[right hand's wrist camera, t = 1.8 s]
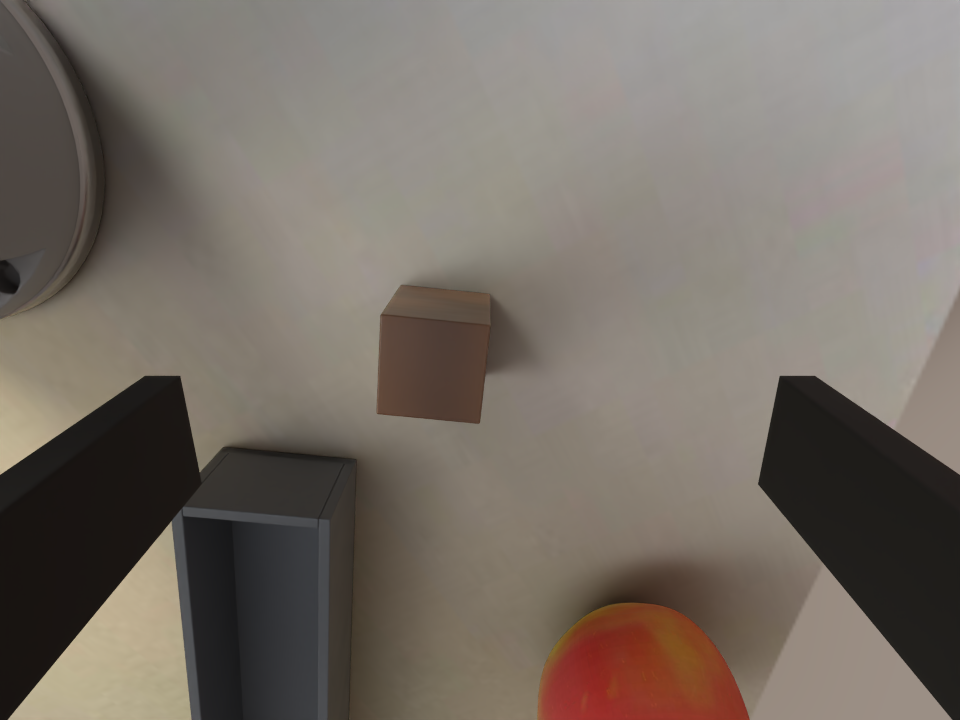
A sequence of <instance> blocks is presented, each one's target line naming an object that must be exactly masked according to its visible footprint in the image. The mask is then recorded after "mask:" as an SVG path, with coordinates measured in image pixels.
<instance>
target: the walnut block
mask: <svg viewBox="0 0 960 720" xmlns="http://www.w3.org/2000/svg"><path fill="white" fill-rule="evenodd" d="M490 328H491V318H490V294H486V293H476V292H466V291H456V290H446V289H436V288H426V287H416V286H407V285H401V286H400V287H399V288H398V290H397V291H396V293H395V294H394V296H393V297H392V299H391V300H390V302H389V303H388V305H387V306H386V308H385V309H384V311H383V312H382V314H381V317H380V341H379V365H378V389H377V414H383V415H393V416H404V417H414V418H425V419H435V420H446V421H456V422H466V423H477V424H479V423H480V418H481V409H482V400H483V391H484V382H485V373H486V364H487V355H488V346H489V337H490Z"/></svg>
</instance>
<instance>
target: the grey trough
mask: <svg viewBox="0 0 960 720" xmlns="http://www.w3.org/2000/svg"><path fill="white" fill-rule="evenodd" d="M200 477H201V482H202V485H201V486H200V487H199V488H198V489H197V491H196V492H195V493H194V494H193V496H192V497H191V498H190V499H189V500H188V502H187V503H186V504H185V505H184V506H183V508H182V509H181V510H180V511H179V513H178V514H177V515H176V516H175V517H174V519H173V520H172V529H173V539H174V549H175V559H176V569H177V579H178V589H179V599H180V609H181V619H182V629H183V639H184V648H185V658H186V668H187V678H188V688H189V698H190V708H191V718H192V720H349V695H350V661H351V627H352V594H353V560H354V526H355V492H356V460H355V459H345V458H334V457H323V456H313V455H302V454H291V453H281V452H270V451H260V450H249V449H238V448H228V447H223V448H222V449H221V450H220V451H219V452H218V453H217V454H216V456H215V457H214V458H213V459H212V460H211V461H210V462H209V463H208V464H207V465H206V467H205V468H204V469H203V470H202V471H201V472H200Z"/></svg>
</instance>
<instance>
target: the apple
mask: <svg viewBox="0 0 960 720" xmlns="http://www.w3.org/2000/svg"><path fill="white" fill-rule="evenodd" d="M537 720H750V719H749V716H748V713H747V709H746V707H745V704H744V701H743V699H742V696H741V693H740V691H739V688H738V686H737V684H736V682H735V679H734V677H733V675H732V673H731V671H730V669H729V667H728V666H727V664H726V662H725V660H724V658H723V657H722V655H721V654H720V652H719V651H718V649H717V648H716V646H715V645H714V644H713V643H712V641H711V640H710V639H709V638H708V637H707V635H706V634H705V633H704V632H703V631H702V630H701V629H700V628H699V627H698V626H697V625H696V624H695V623H694V622H693V621H691V620H690V619H688V618H687V617H686V616H684V615H683V614H681V613H679V612H677V611H675V610H673V609H670V608H668V607H664V606H660V605H655V604H646V603H618V604H611V605H608V606H605V607H602V608H599V609H597V610H595V611H593V612H591V613H589V614H587V615H586V616H584V617H583V618H582V619H580V620H579V621H578V622H577V623H576V624H574V625H573V626H572V627H571V628H570V629H569V630H568V631H567V632H566V633H565V634H564V635H563V636H562V637H561V638H560V640H559V641H558V642H557V643H556V645H555V646H554V648H553V649H552V651H551V653H550V654H549V656H548V659H547V661H546V663H545V666H544V669H543V673H542V676H541V681H540V688H539V696H538V712H537Z"/></svg>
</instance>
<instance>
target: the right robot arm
mask: <svg viewBox="0 0 960 720" xmlns="http://www.w3.org/2000/svg"><path fill="white" fill-rule="evenodd" d="M104 182H105V177H104V163H103V155H102V149H101V143H100V138H99V134H98V130H97V126H96V123H95V119H94V116H93V113H92V110H91V107H90V105H89V102H88V99H87V97H86V94H85V92H84V90H83V88H82V85H81V83H80V81H79V79H78V77H77V75H76V73H75V71H74V69H73V68H72V66H71V64H70V62H69V60H68V58H67V57H66V55H65V54H64V52H63V51H62V49H61V47H60V46H59V44H58V43H57V41H56V40H55V38H54V37H53V36H52V34H51V33H50V32H49V30H48V29H47V28H46V26H45V25H44V24H43V22H42V21H41V20H40V19H39V17H38V16H37V15H36V14H35V13H34V12H33V11H32V9H31V8H30V7H29V6H28V5H27V4H26V3H25V2H24V1H23V0H0V319H3V318H6V317H9V316H12V315H15V314H18V313H20V312H23V311H26V310H28V309H31V308H33V307H35V306H37V305H39V304H41V303H42V302H44V301H46V300H47V299H49V298H50V297H52V296H53V295H54V294H56V293H57V292H58V291H59V290H60V289H62V288H63V287H64V286H65V285H66V284H67V283H68V282H69V281H70V280H71V279H72V277H73V276H74V275H75V274H76V273H77V271H78V270H79V268H80V267H81V265H82V264H83V262H84V261H85V259H86V258H87V256H88V254H89V252H90V250H91V248H92V246H93V243H94V240H95V237H96V235H97V232H98V229H99V224H100V220H101V216H102V210H103V202H104ZM201 485H202V482H201V477H200V472H199V467H198V462H197V457H196V452H195V447H194V442H193V437H192V432H191V427H190V422H189V417H188V412H187V407H186V402H185V397H184V392H183V388H182V383H181V378H180V376H144V377H143V378H141V379H140V380H138V381H137V382H136V383H134V384H133V385H131V386H130V387H128V388H127V389H125V390H124V391H122V392H121V393H119V394H118V395H117V396H115V397H114V398H112V399H111V400H109V401H108V402H106V403H105V404H103V405H102V406H100V407H99V408H97V409H96V410H95V411H93V412H92V413H90V414H89V415H87V416H86V417H84V418H83V419H81V420H80V421H78V422H77V423H76V424H74V425H73V426H71V427H70V428H68V429H67V430H65V431H64V432H62V433H61V434H59V435H58V436H57V437H55V438H54V439H52V440H51V441H49V442H48V443H46V444H45V445H43V446H42V447H40V448H39V449H37V450H36V451H35V452H33V453H32V454H30V455H29V456H27V457H26V458H24V459H23V460H21V461H20V462H18V463H17V464H16V465H14V466H13V467H11V468H10V469H8V470H7V471H5V472H4V473H2V474H1V475H0V720H8V719H9V717H10V716H11V715H12V714H13V712H14V711H15V710H16V709H17V708H18V706H19V705H20V704H21V703H22V702H23V700H24V699H25V698H26V697H27V695H28V694H29V693H30V692H31V691H32V689H33V688H34V687H35V686H36V685H37V683H38V682H39V681H40V680H41V679H42V677H43V676H44V675H45V674H46V672H47V671H48V670H49V669H50V668H51V666H52V665H53V664H54V663H55V662H56V660H57V659H58V658H59V657H60V656H61V654H62V653H63V652H64V651H65V649H66V648H67V647H68V646H69V645H70V643H71V642H72V641H73V640H74V639H75V637H76V636H77V635H78V634H79V632H80V631H81V630H82V629H83V628H84V626H85V625H86V624H87V623H88V622H89V620H90V619H91V618H92V617H93V616H94V614H95V613H96V612H97V611H98V609H99V608H100V607H101V606H102V605H103V603H104V602H105V601H106V600H107V599H108V597H109V596H110V595H111V594H112V592H113V591H114V590H115V589H116V588H117V586H118V585H119V584H120V583H121V582H122V580H123V579H124V578H125V577H126V576H127V574H128V573H129V572H130V571H131V569H132V568H133V567H134V566H135V565H136V563H137V562H138V561H139V560H140V559H141V557H142V556H143V555H144V554H145V553H146V551H147V550H148V549H149V548H150V546H151V545H152V544H153V543H154V542H155V540H156V539H157V538H158V537H159V536H160V534H161V533H162V532H163V531H164V529H165V528H166V527H167V526H168V525H169V523H170V522H171V521H172V520H173V519H174V517H175V516H176V515H177V514H178V513H179V511H180V510H181V509H182V508H183V506H184V505H185V504H186V503H187V502H188V500H189V499H190V498H191V497H192V496H193V494H194V493H195V492H196V491H197V489H198V488H199V487H200V486H201ZM758 485H759V486H760V487H761V488H762V489H763V491H764V492H765V493H766V494H767V496H768V497H769V498H770V499H771V500H772V502H773V503H774V504H775V505H776V506H777V508H778V509H779V510H780V511H781V513H782V514H783V515H784V516H785V517H786V519H787V520H788V521H789V522H790V523H791V525H792V526H793V527H794V528H795V529H796V531H797V532H798V533H799V534H800V536H801V537H802V538H803V539H804V540H805V542H806V543H807V544H808V545H809V546H810V548H811V549H812V550H813V551H814V553H815V554H816V555H817V556H818V557H819V559H820V560H821V561H822V562H823V563H824V565H825V566H826V567H827V568H828V569H829V571H830V572H831V573H832V574H833V576H834V577H835V578H836V579H837V580H838V582H839V583H840V584H841V585H842V586H843V588H844V589H845V590H846V591H847V592H848V594H849V595H850V596H851V597H852V598H853V600H854V601H855V602H856V603H857V605H858V606H859V607H860V608H861V609H862V611H863V612H864V613H865V614H866V616H867V617H868V618H869V619H870V620H871V622H872V623H873V624H874V625H875V626H876V628H877V629H878V630H879V631H880V632H881V634H882V635H883V636H884V637H885V639H886V640H887V641H888V642H889V643H890V645H891V646H892V647H893V648H894V649H895V651H896V652H897V653H898V654H899V656H900V657H901V658H902V659H903V660H904V662H905V663H906V664H907V665H908V666H909V668H910V669H911V670H912V671H913V672H914V674H915V675H916V676H917V677H918V679H919V680H920V681H921V682H922V683H923V685H924V686H925V687H926V688H927V689H928V691H929V692H930V693H931V694H932V695H933V697H934V698H935V699H936V700H937V702H938V703H939V704H940V705H941V706H942V708H943V709H944V710H945V711H946V712H947V714H948V715H949V716H950V717H951V719H952V720H960V475H959V474H958V473H956V472H955V471H953V470H952V469H950V468H949V467H947V466H946V465H944V464H943V463H942V462H940V461H939V460H937V459H936V458H934V457H933V456H931V455H930V454H928V453H927V452H925V451H924V450H922V449H921V448H920V447H918V446H917V445H915V444H914V443H912V442H911V441H909V440H908V439H906V438H905V437H903V436H902V435H901V434H899V433H898V432H896V431H895V430H893V429H892V428H890V427H889V426H887V425H886V424H884V423H883V422H882V421H880V420H879V419H877V418H876V417H874V416H873V415H871V414H870V413H868V412H867V411H865V410H864V409H862V408H861V407H860V406H858V405H857V404H855V403H854V402H852V401H851V400H849V399H848V398H846V397H845V396H843V395H842V394H841V393H839V392H838V391H836V390H835V389H833V388H832V387H830V386H829V385H827V384H826V383H824V382H823V381H822V380H820V379H819V378H817V377H816V376H780V378H779V383H778V388H777V392H776V397H775V402H774V407H773V412H772V417H771V422H770V427H769V432H768V437H767V442H766V447H765V452H764V457H763V462H762V467H761V472H760V477H759V482H758Z"/></svg>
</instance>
